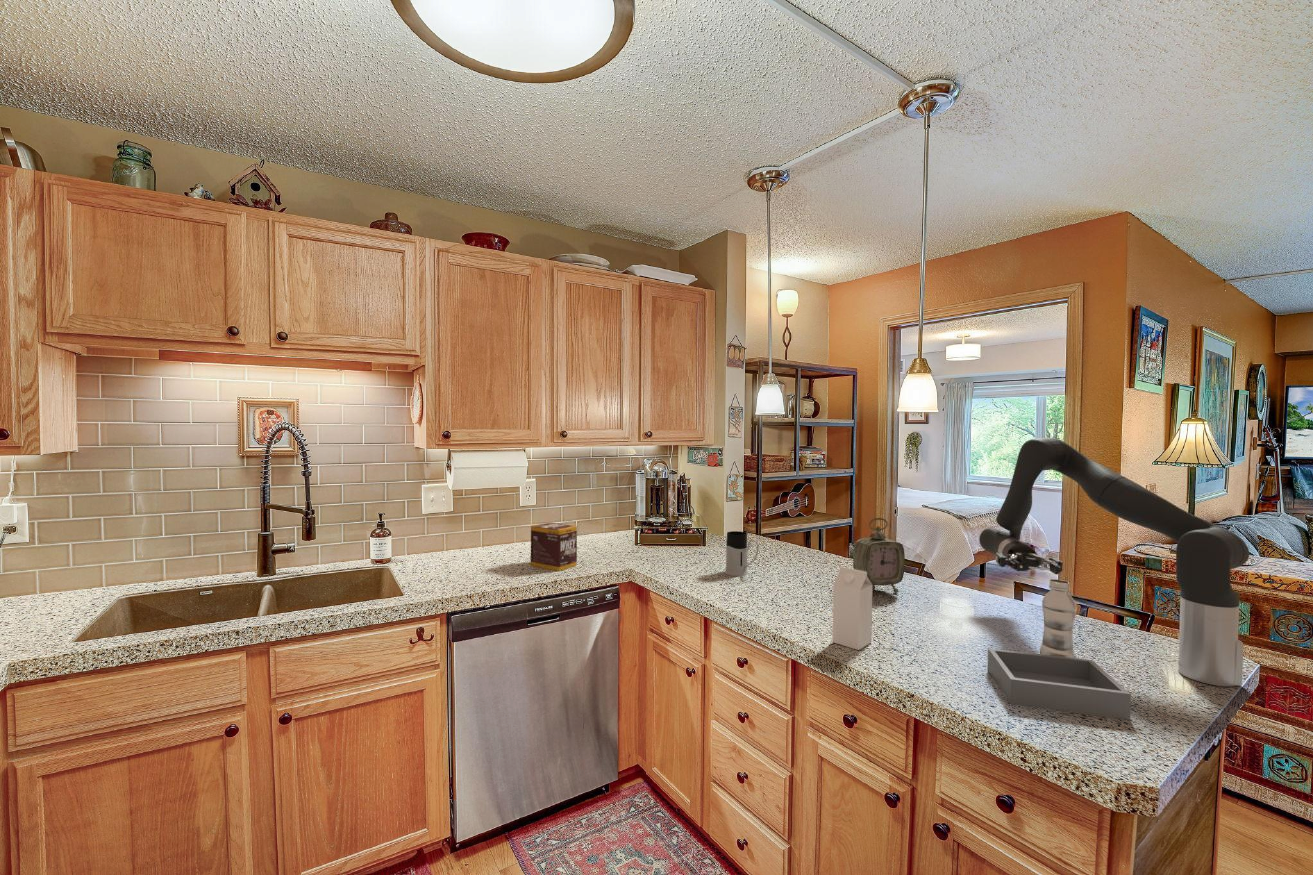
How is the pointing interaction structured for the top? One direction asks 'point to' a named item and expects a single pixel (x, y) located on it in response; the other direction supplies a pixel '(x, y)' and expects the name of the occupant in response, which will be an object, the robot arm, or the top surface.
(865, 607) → the milk carton
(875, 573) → the tabletop clock
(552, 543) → the supplement box
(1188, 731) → the top surface
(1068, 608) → the silver bottle
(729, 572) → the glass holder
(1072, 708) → the bin
